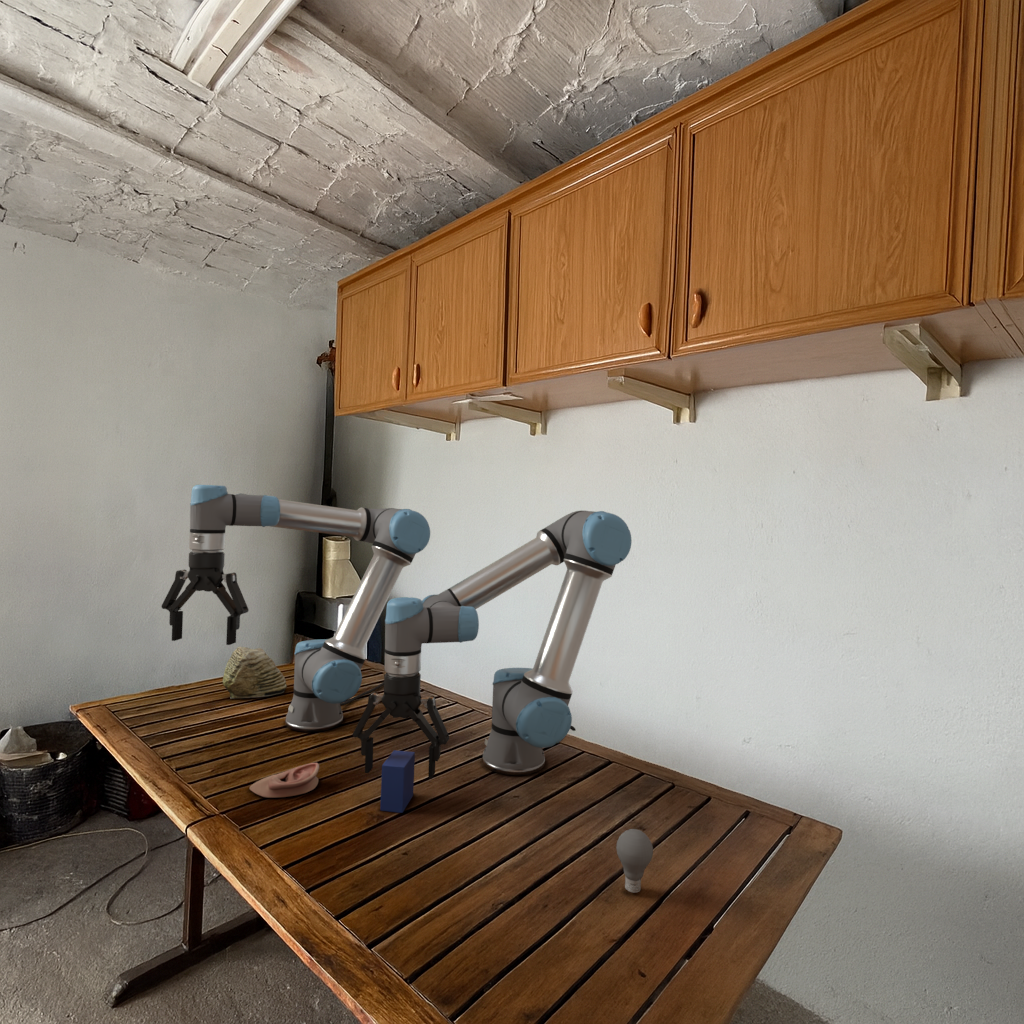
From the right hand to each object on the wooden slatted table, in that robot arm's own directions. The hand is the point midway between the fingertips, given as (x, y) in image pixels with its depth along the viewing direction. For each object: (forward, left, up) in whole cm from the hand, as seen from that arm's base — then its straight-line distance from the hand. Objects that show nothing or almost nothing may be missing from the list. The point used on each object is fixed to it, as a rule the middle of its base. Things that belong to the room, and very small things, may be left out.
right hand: (400, 773), depth 133 cm
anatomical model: (+16, -21, -6) cm, 27 cm away
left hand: (+26, -45, +22) cm, 56 cm away
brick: (0, 0, -6) cm, 6 cm away
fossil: (-3, -87, -6) cm, 87 cm away
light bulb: (-14, +50, -6) cm, 52 cm away
